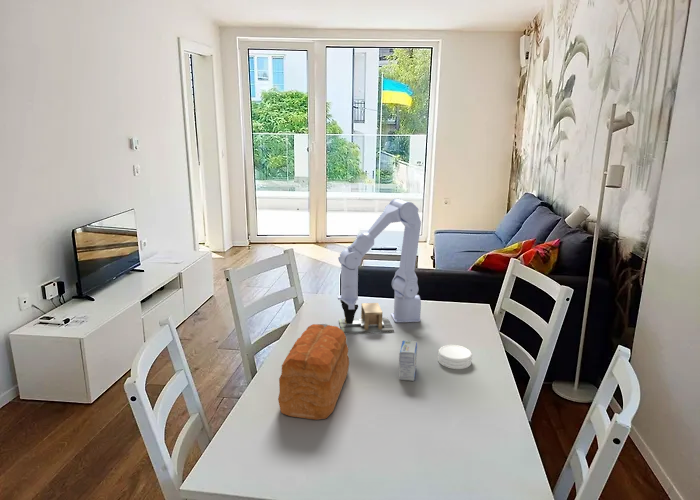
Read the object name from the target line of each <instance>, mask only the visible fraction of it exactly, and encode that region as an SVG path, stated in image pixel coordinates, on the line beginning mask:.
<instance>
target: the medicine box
mask: <svg viewBox="0 0 700 500" xmlns="http://www.w3.org/2000/svg"><path fill="white" fill-rule="evenodd" d="M417 351H418V342H417V341H416V340H415V341H414V340H405V339H403V340H402V341H401V346H400V349H399V353H398V355H399V356H398V380H402V381H411V382H412V381H413V382H414V381H415V377H416V370H417V356H418V355H417V353H418V352H417Z"/></svg>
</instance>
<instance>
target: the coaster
mask: <svg viewBox="0 0 700 500" xmlns="http://www.w3.org/2000/svg"><path fill="white" fill-rule="evenodd" d="M471 351H472V350H470V349H468V348H466V347H465V346H462V345H458V344H445V345H443V346H441V347H440V348H438V354H437V362H438V363H439V364H440V365H441V366H443V367H446V368H447V369H448V368H449V369H451V370H464V369H467V368H469V367H470V366H471V365H472V360H473V358H472V357H473V354H472V353H473V352H471Z"/></svg>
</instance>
